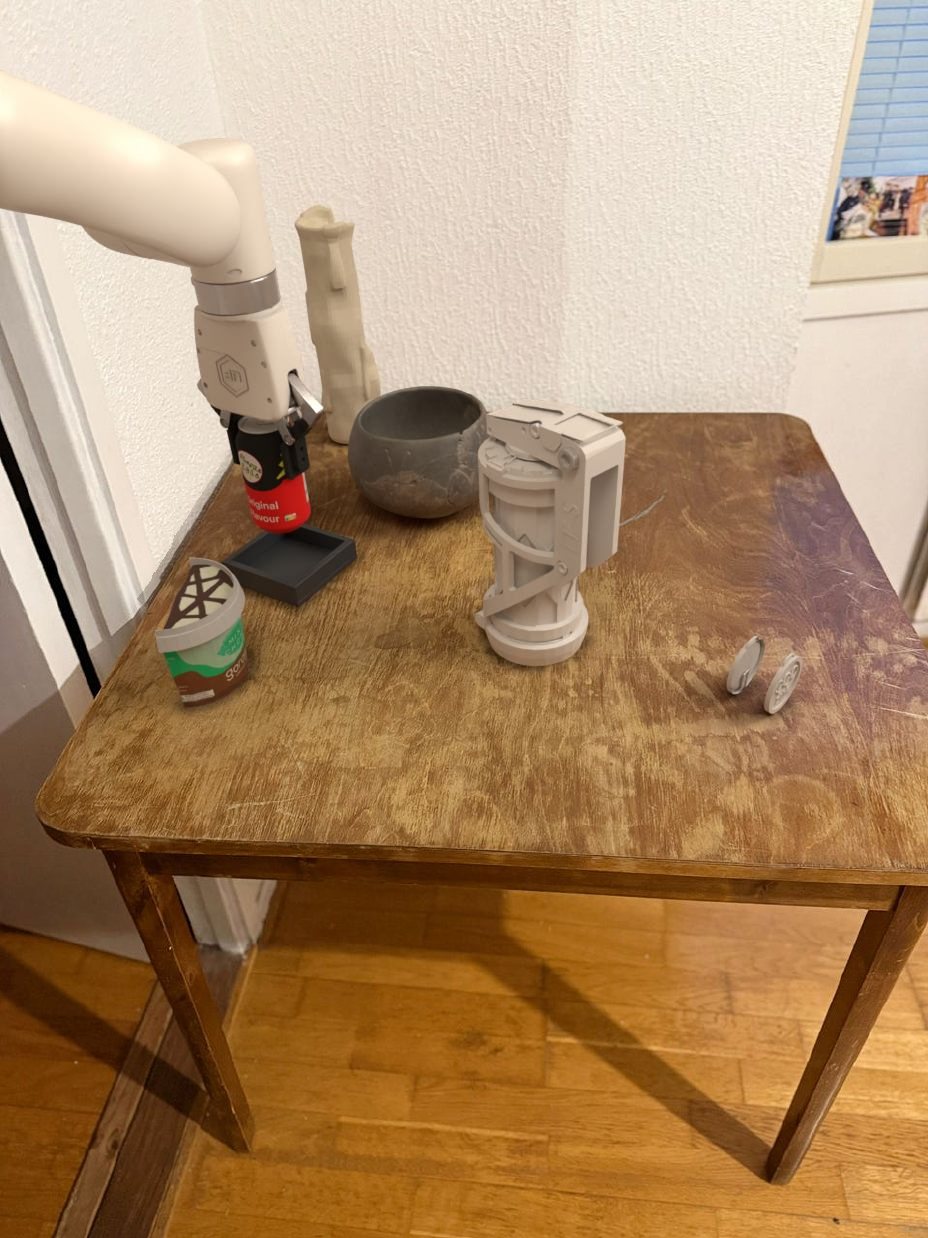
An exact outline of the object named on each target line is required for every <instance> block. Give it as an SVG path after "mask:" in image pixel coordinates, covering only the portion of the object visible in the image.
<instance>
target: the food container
mask: <svg viewBox="0 0 928 1238" xmlns="http://www.w3.org/2000/svg"><path fill="white" fill-rule="evenodd" d="M188 559H189V565H190V569H189V571H188V575H187V577H186V579H185V581H184V583H183V585H182V586H181V587H180V589H179V590H178V592H177V594H176V596H175V598H174V600H173V603H172V606H171V610H170V612H169V615H168V618H167V620H166V622H165V624H164V625H163V629H154V634H155V643H156V646H157V652H158V654H160V653H161V654H163V657H164V660H165V662H166V664H167V667H168V669H169V673H170V674H171V677H172V679H173V682H174V685H175V686H176V687H175V688H176V689H177V692H178V694H179V697H180V699H181V702H182V705H183V708H192V707H199V706H205V705H208V704H211V703H215V702H217V701H219V700H221V699H223V698H225V697H227V696H229V695H230V694H231V693H233V692H235V690H236V689H238V688H239V687H240V686H241V685H242V684H243V682H244V681H245V679H246V678H247V676H248V672H249V660H248V653H247V647H246V641H245V632H244V628H243V620H242V613H243V611H244V609H245V605H246V595H245V592H244V590H243V587H242V586H240V584H239V582H238V580H237V579H236V577H235V576H234V575H233V574H232V573H231V571H230V570H229V569H228V568H227V567H226V566H224V565H222V564H221V562H218V561H216V560H213V559H209V558H204V557H188Z"/></svg>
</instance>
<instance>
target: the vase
mask: <svg viewBox="0 0 928 1238" xmlns="http://www.w3.org/2000/svg"><path fill="white" fill-rule="evenodd" d="M335 219H336V218H335V215H334V212H333V209H332V207H326V206H325V205H322V204H321V205H320V204H315V205H313V206H310V207H309V208H306V210H304V211H301V213H300V215H299V217H298V218H297V219H296V220H295V221H294V228H295V231H296V233H297V235H298V240H299V244H300V251H301V257H302V263H303V269H304V276H305V284H306V291H305V292H304V295H305V305H306V312H307V319H308V320H307V321H308V328H309V333H310V340H311V343H312V344H313V346H314V348H315V352H316V359H317V363H318V369H319V376H320V384H321V400H320V401H321V402H320V404H321V405H322V406H323V408H324V413H325V418H326V422H327V432H328V435H329V437H330V439H331V440H332V441H333V442H335V443H338V444H343V445H348V443H349V437H350V433H351V430H352V426H353V423H354V421H355V419H356V417H357V415H358V413H359V412H360V411H361V410H362V409H363V408H364V407H365V406H366V405H367V404H368V403H369V402H371V401H372V400H374V399H375V398H377V397H379V396H382V395H381V392H382V391H381V377H380V373H379V370H378V367H377V363H376V360H375V359H376V358H375V355H374V352H373V350H372V348H371V347H370V346H369V345H368V343H367V342H366V335H365V329H364V324H363V317H362V307H361V298H360V297H361V296H360V288H359V286H360V285H359V280H358V279H359V278H358V273H357V268H356V263H355V257H354V250H353V245H352V243H353V235H354V230H355V226H356V225H355V222H353V221H351V222H350V221H349V222H348V223H347V222H345V221H344V220H343V221H336V220H335Z"/></svg>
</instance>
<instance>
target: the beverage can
mask: <svg viewBox="0 0 928 1238" xmlns="http://www.w3.org/2000/svg"><path fill="white" fill-rule="evenodd" d="M286 420H287V422H288V424H289V426H290V428H292V426H293V425H294V424H292V423H291V421H290V416H287V417H286ZM238 427H239V431H238V433H237V436H236V447H237V451H238V456H239V461H240V465H239V466H240V470H241V474H242V479H243V483H244V487H245V488H244V489H245V492H246V496H247V502H248V506H249V510H250V515H251V520H252V522H253V523H254V524H255V526H256V527H258V528H259V529H261V530H263V531H264V530H265V531H267V532H270V533H287V532H291V531H294V530H296V529H298V528H299V527H301V526H302V525H303V523H304V524H306V522H307V521H308V520H309V517H310V515H311V512H312V510H311V504H310V497H309V491H308V487H307V486H308V485H307V481H306V474H305V472H303V473H302V474H300V475H299V476H298V477H296V478H295V479H293V480H290V479H287V478H286V476H285V472H284V466H283V461H282V455H281V450H280V444H281V443H283V442H284V440H283V438H282V436H281V434H280V432H279V430H278V428H277V426H276V425H275V423H274V422H268V421H263V420H259V419H255V418H251V417H247V416H244V417H242V418H241V419H240V420H239V422H238Z"/></svg>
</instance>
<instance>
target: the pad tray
mask: <svg viewBox="0 0 928 1238" xmlns="http://www.w3.org/2000/svg"><path fill="white" fill-rule="evenodd" d="M357 559H358V553H357V546H356V539H355V538H352V537H349V536H345V535H342V534H339V533H336V532H334V531H333V532H332V531H331V530H326V529H323V528H320V527H317V526H313V525H311V524H307V523H303V525H302V526H301V527H299V528H298V529H296V530H294V531H291V532H287V533H270V532H267V531H265V530H263V531H261V532H260V533H259V534H257V535H256V536H254V537H253V538H252V539H250V540H248V541H247V542H246V543H245V544H243V545H242V546H240V547H239V548H238V549H237V550H235V551H233V552H232V553H231V554H230V555H228V556H226V557H225V558H224V559H223V560H221V561H220V563H221V564H222V565H224V566H226V567H227V568H228V569H229V570H230V571H231V573H232V574H233V575H234V576H235V577H236V579H237V580H238V582H239V584H240V586H241V588H245V589H248V590H250V591H253V592H256V593H259V594H261V595H264V596H267V597H270V598H273V599H275V600H277V601H281V602H283V603H286V604H289V605H291V606H294V607H297V608H299V607H301V606H302V605H303V604H304V603H305V602H307V601H308V600H310V598H311V597H313V596H314V595H315V594H316V593H317V592H319V591H321V589H322V588H324V587H325V586H326V585H327V584H328V583H330V582H331V581H332V580H333V579H334V578H335V577H336V576H338V575H339V574H340V573H342V572H343V571H344V570H345V569H346V568H347V567H349V566H350V565H351V564H353V562H355V561H356V560H357Z"/></svg>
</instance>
